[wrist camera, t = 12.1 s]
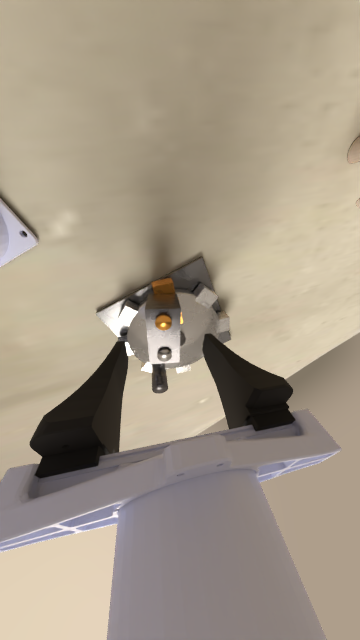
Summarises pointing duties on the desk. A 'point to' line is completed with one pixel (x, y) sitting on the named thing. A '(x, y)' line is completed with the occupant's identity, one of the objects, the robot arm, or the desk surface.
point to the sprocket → (194, 326)
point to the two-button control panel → (163, 328)
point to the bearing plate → (181, 278)
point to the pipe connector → (355, 157)
